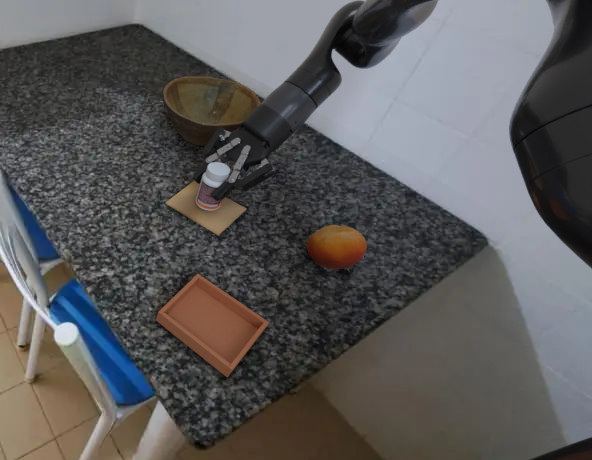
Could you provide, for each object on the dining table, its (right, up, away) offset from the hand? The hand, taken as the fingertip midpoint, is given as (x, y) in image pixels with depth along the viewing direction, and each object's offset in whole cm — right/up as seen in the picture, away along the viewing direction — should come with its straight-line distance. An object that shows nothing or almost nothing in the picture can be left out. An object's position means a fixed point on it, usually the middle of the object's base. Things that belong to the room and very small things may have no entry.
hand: (204, 189), depth 72 cm
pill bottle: (+2, -2, +4) cm, 5 cm away
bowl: (+6, +15, +22) cm, 27 cm away
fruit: (+20, -13, -4) cm, 24 cm away
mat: (+2, -3, +4) cm, 5 cm away
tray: (-4, -22, -14) cm, 26 cm away
